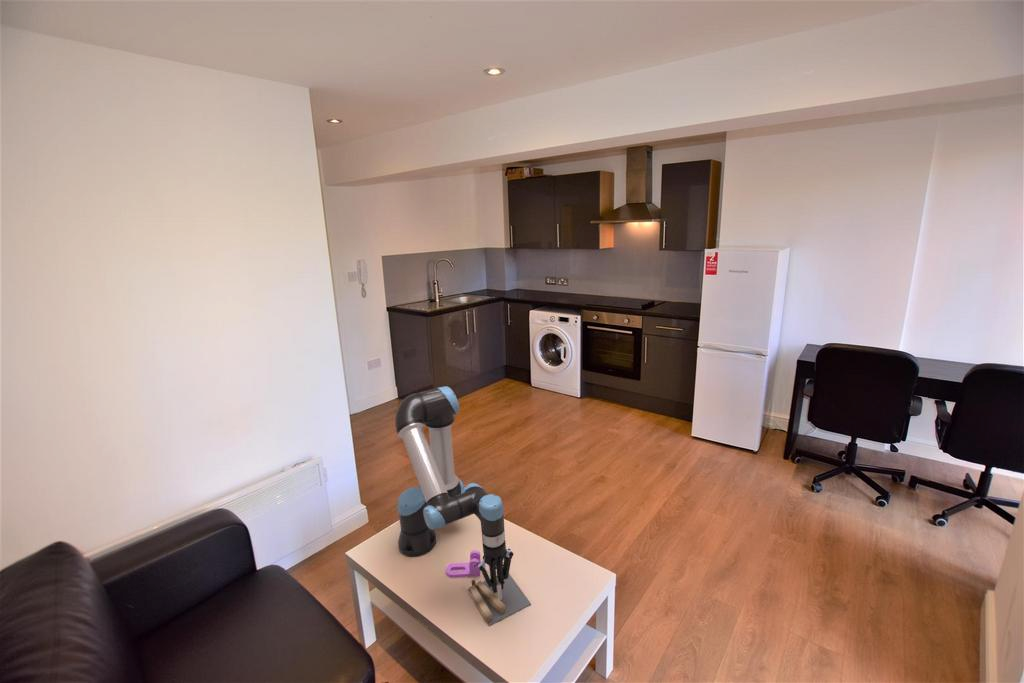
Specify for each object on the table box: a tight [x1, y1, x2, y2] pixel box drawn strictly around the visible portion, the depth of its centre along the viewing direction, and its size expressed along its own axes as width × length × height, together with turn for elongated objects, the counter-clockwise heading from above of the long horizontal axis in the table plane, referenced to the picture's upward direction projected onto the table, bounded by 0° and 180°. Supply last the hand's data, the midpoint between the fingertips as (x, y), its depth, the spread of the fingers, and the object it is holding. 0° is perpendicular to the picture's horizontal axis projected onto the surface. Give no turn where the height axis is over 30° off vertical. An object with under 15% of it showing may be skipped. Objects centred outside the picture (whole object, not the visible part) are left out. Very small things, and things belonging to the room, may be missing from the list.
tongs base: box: [468, 579, 492, 623], centre depth 155 cm, size 16×3×3 cm, turn 29°
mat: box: [467, 573, 532, 627], centre depth 159 cm, size 17×16×1 cm
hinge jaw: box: [476, 580, 506, 614], centre depth 157 cm, size 14×2×2 cm, turn 40°
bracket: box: [445, 549, 482, 579], centre depth 170 cm, size 13×6×7 cm, turn 91°
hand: (498, 597), depth 156 cm, fingers closed
